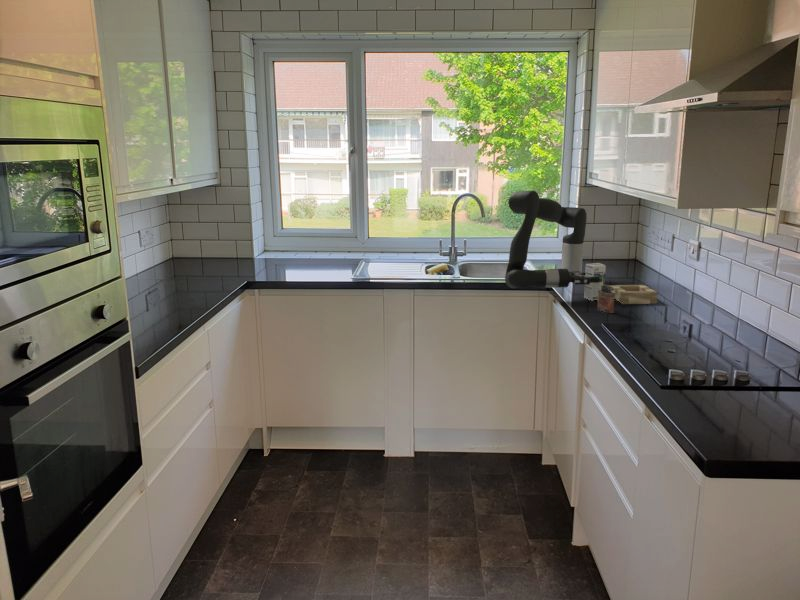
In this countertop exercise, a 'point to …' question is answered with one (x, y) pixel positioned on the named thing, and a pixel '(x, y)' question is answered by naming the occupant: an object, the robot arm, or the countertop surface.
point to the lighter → (606, 299)
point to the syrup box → (593, 288)
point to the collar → (634, 294)
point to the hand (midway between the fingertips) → (595, 277)
